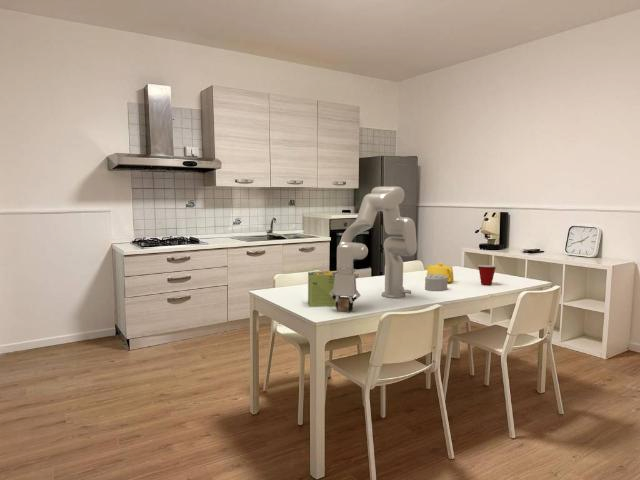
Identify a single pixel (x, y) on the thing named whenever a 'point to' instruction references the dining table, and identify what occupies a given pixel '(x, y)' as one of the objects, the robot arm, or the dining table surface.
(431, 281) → the lumpy-topped squat cylinder
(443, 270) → the teapot
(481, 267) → the plastic cup
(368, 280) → the dining table surface
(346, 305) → the walnut block
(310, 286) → the protein box
